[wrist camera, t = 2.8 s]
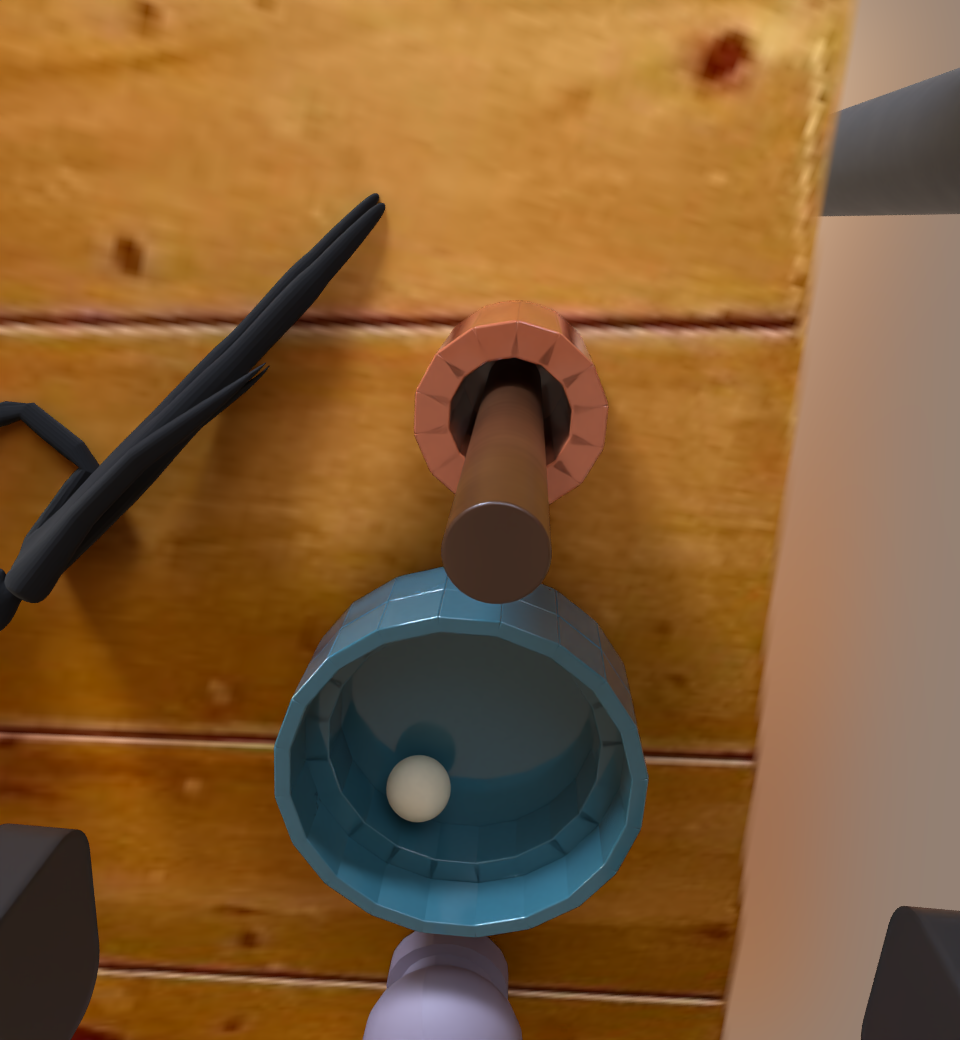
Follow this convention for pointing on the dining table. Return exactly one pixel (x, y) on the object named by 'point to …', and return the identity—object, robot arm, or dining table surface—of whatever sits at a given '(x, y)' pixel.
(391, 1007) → the cat figurine
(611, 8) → the dining table surface
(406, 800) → the ball
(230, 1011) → the dining table surface
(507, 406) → the stick
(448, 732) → the bowl
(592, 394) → the holder
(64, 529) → the black elongated part
